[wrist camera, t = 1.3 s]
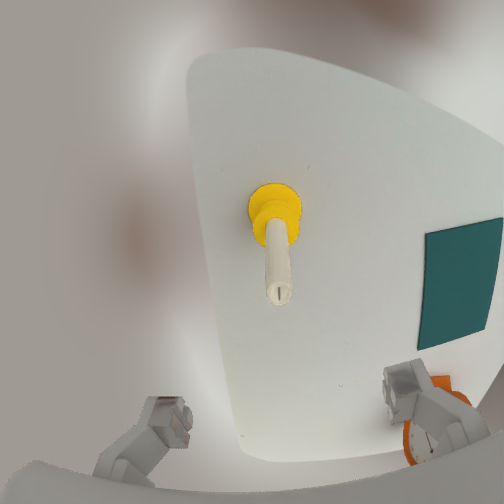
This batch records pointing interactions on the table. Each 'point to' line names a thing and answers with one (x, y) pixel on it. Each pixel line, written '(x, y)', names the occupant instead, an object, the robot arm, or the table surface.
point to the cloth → (459, 281)
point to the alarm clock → (416, 439)
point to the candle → (276, 235)
